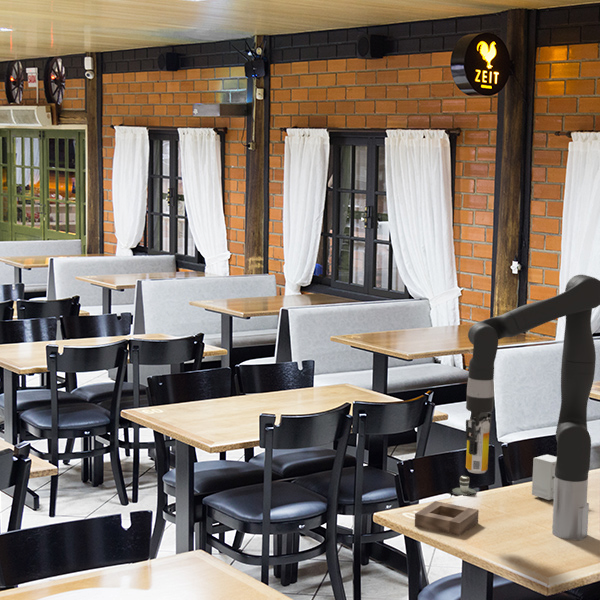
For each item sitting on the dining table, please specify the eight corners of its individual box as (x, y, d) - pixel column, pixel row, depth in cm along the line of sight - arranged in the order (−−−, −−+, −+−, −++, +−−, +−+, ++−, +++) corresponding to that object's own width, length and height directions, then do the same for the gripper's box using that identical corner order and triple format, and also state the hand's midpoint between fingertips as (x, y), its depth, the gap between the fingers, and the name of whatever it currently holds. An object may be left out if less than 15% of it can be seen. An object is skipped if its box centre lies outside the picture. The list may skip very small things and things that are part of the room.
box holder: (478, 524, 288) (478, 509, 287) (459, 538, 276) (459, 523, 275) (434, 515, 295) (435, 501, 295) (414, 528, 283) (415, 513, 283)
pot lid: (473, 499, 312) (473, 484, 311) (439, 492, 319) (440, 477, 318) (488, 490, 322) (489, 475, 321) (455, 483, 328) (456, 469, 328)
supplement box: (549, 500, 311) (551, 462, 309) (531, 494, 316) (532, 457, 315) (563, 496, 315) (565, 458, 314) (544, 490, 321) (546, 453, 319)
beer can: (486, 468, 278) (488, 417, 276) (488, 474, 272) (491, 422, 270) (464, 467, 279) (467, 416, 277) (466, 473, 273) (469, 421, 271)
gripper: (483, 400, 265) (480, 459, 267) (502, 391, 277) (499, 448, 279) (457, 396, 269) (455, 455, 271) (477, 388, 281) (474, 444, 283)
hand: (477, 451), depth 275 cm, fingers closed on beer can, 6 cm apart
